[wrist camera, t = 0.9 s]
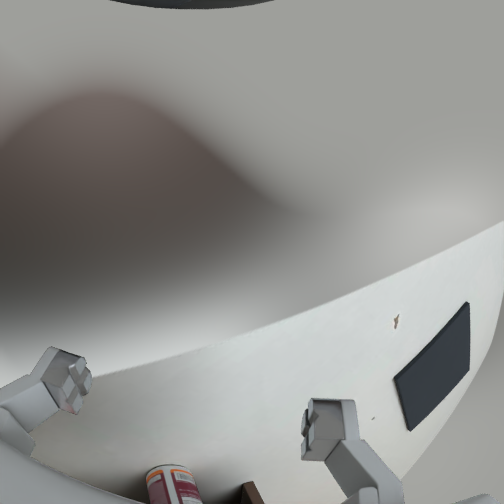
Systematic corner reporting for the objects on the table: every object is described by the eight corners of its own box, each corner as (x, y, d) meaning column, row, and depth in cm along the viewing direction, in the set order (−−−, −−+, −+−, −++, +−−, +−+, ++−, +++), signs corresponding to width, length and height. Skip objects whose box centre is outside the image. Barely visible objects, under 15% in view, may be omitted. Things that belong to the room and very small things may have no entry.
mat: (393, 377, 31) (397, 380, 31) (466, 301, 33) (469, 302, 33) (408, 429, 38) (410, 431, 37) (467, 368, 40) (469, 370, 39)
